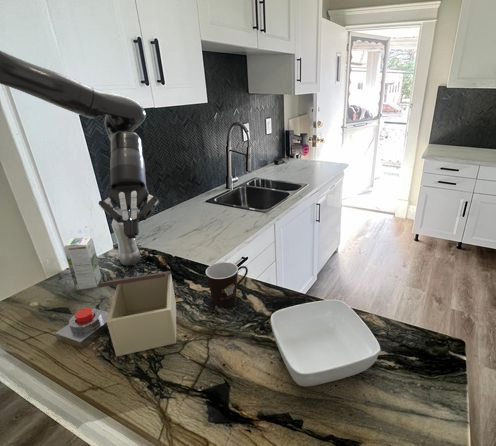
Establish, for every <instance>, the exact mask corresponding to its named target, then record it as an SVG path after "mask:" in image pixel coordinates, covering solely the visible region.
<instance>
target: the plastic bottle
mask: <svg viewBox="0 0 496 446" xmlns="http://www.w3.org/2000/svg"><path fill="white" fill-rule="evenodd" d="M112 209H113V210H114V211H116V212H117V213H118V214H119V215H122V211H121V209H119V208H118V207H117V206H116V207H112ZM130 219H131V217H130ZM111 228H112V230H113V234H114V235H115V238H116V242H117V248H118V260H119V262H120V263H121V264H122V265H123V266H133V265H137V264H138V263H139V262H140V260H141V252H140V250H139V248H138V244H137V242H136V241H137V240H136V238H132V239H129V238H128V237H126V235H125V234H124V226H123V223H118V222H116V221H115V220H114V219H113V218H112V221H111Z"/></svg>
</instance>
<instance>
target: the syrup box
mask: <svg viewBox="0 0 496 446" xmlns="http://www.w3.org/2000/svg"><path fill="white" fill-rule="evenodd" d="M63 250H64V254H65V257H66V260H67V264H68V267H69V271H70V275H71V277H72V282H73V284H74V288H75V291H79V290H86V289H87V290H88V289H92V288H98V287H99V285H98V284H99V283H101V280H102V277H103V275H102V271H101V267H100V263H99V260H98V256H97V255H98V254H97V251H96V248H95V243H94V239H93V237H92V236H80V237H73V238H70V239H69V240H68V241H67V243H66V244H65V245H64V246H63Z"/></svg>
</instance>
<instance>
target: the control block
mask: <svg viewBox="0 0 496 446" xmlns="http://www.w3.org/2000/svg"><path fill="white" fill-rule="evenodd" d="M91 309H92V310H93V314H94V318H93V319H92V320H91V321H89V322H86V323H82V324H78V323H77V321H76V318H75V314H74V315H73V316H72V317H70V319H69V320H68V324H67V325H65V326H64V327H62V328H60V330H58V331H56V332H54V335H55V337H56V340H57V341H58V342H60V343H63V344H65V345H69V346H72V347H75V348H78V349H81V350H83V349H85V348H86V347H87V346H89V345H90V344H91V343H92V342H94V341H95V340H96V339H98V338H99V337H100V336H101V335H103V334H104V333H105V332H107V331H109V329H108V325H107V319H108V315H109V312H110V311H109V312H108V311H105V310H102V309H98V308H96V307H92V308H91Z"/></svg>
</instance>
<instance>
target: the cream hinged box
mask: <svg viewBox="0 0 496 446" xmlns="http://www.w3.org/2000/svg"><path fill="white" fill-rule="evenodd" d="M107 325H108V333H109V335H110V340H111V343H112V346H113V349H114V353H115V357H120V356H125V355H129V354H133V353H138V352H144V351H147V350H152V349H156V348H162V347H165V346H170V345H175V344H177V302H176V295H175V289H174V283H173V277H172V273H171V274H170V275H168V276H166V277H161V278H155V279H149V280H143V281H136V282H130V283H124V284H118V285H116V288H115V292H114V295H113V298H112V302H111V305H110V309H109V315H108V319H107Z"/></svg>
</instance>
